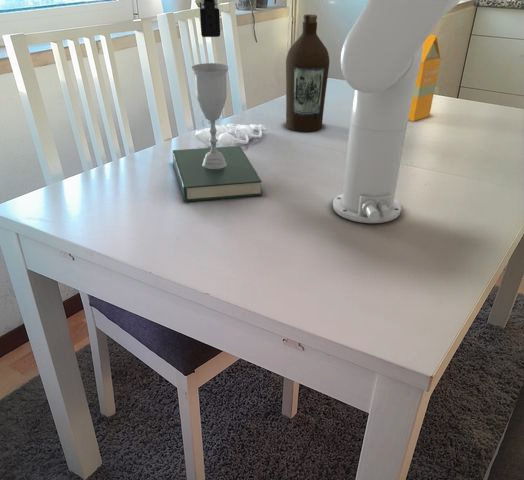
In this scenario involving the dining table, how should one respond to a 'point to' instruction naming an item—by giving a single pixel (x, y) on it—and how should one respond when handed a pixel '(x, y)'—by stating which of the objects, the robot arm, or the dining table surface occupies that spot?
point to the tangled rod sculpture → (226, 138)
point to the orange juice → (425, 80)
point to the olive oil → (306, 79)
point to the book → (215, 175)
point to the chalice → (211, 104)
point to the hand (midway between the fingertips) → (210, 32)
